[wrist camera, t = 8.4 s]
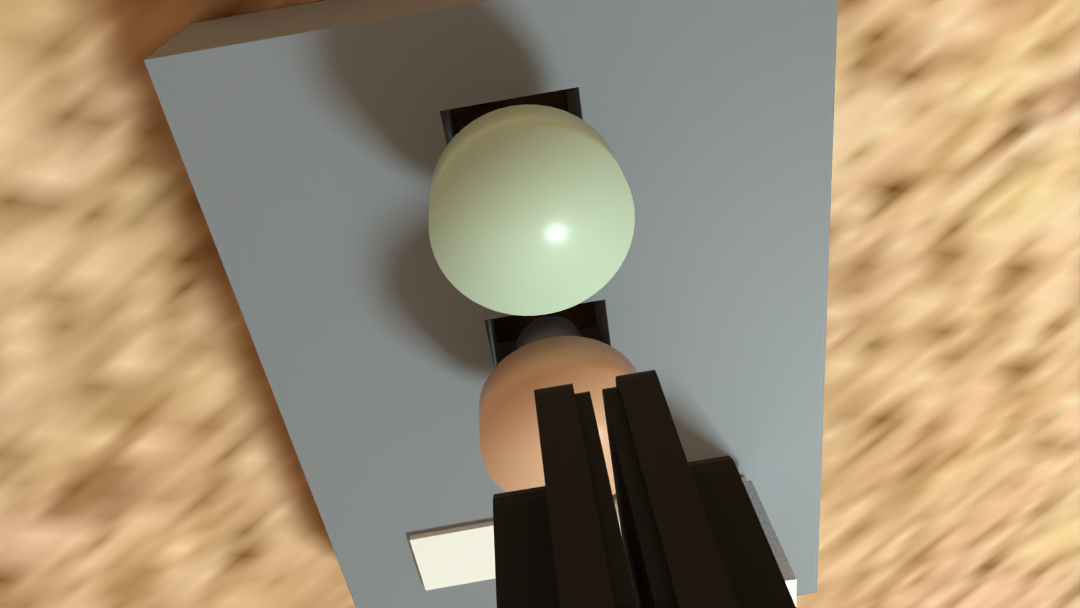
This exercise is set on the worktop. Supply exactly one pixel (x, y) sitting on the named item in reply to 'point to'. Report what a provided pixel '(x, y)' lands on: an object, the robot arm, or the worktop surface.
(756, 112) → the panel
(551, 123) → the sage button
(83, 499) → the worktop surface
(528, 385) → the peach knob
